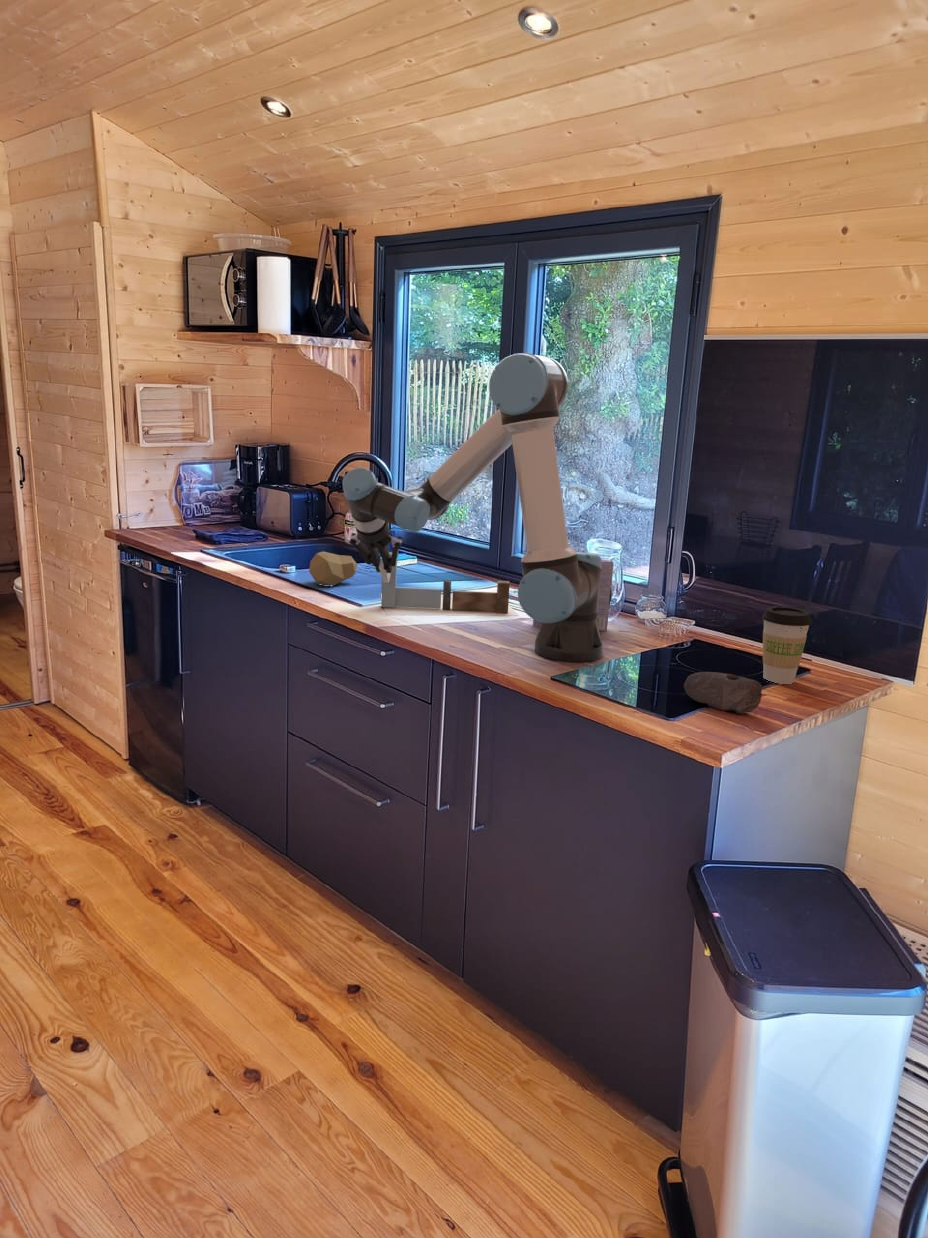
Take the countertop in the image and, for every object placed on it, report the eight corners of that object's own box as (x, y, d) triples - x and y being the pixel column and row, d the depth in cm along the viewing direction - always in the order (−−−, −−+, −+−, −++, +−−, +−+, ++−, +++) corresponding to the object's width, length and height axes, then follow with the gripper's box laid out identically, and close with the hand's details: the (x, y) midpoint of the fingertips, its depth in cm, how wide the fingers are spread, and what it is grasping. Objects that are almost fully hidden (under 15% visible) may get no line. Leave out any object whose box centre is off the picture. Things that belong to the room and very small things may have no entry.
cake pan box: (605, 626, 233) (611, 557, 228) (612, 631, 228) (618, 561, 224) (531, 626, 230) (536, 556, 225) (536, 631, 225) (541, 560, 221)
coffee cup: (776, 689, 188) (786, 618, 185) (744, 675, 197) (752, 606, 193) (813, 685, 192) (823, 615, 188) (780, 671, 201) (789, 604, 197)
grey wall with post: (440, 606, 242) (442, 554, 238) (440, 609, 238) (442, 557, 234) (381, 603, 241) (382, 551, 238) (380, 607, 238) (381, 554, 234)
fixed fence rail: (442, 610, 238) (443, 580, 236) (442, 608, 241) (443, 578, 239) (507, 613, 238) (509, 583, 236) (507, 611, 241) (509, 581, 239)
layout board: (518, 617, 237) (518, 615, 237) (386, 617, 231) (386, 614, 231) (499, 596, 260) (499, 594, 260) (378, 595, 254) (379, 593, 254)
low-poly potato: (304, 590, 258) (338, 575, 254) (295, 554, 261) (328, 539, 256) (334, 595, 272) (366, 581, 268) (325, 561, 274) (357, 547, 270)
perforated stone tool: (676, 700, 179) (680, 666, 177) (690, 694, 182) (694, 661, 181) (748, 721, 169) (752, 685, 167) (761, 715, 173) (766, 679, 171)
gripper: (400, 510, 215) (414, 567, 235) (346, 506, 217) (365, 563, 237) (394, 536, 211) (409, 592, 231) (339, 531, 213) (359, 588, 233)
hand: (387, 577), depth 234 cm, fingers closed
